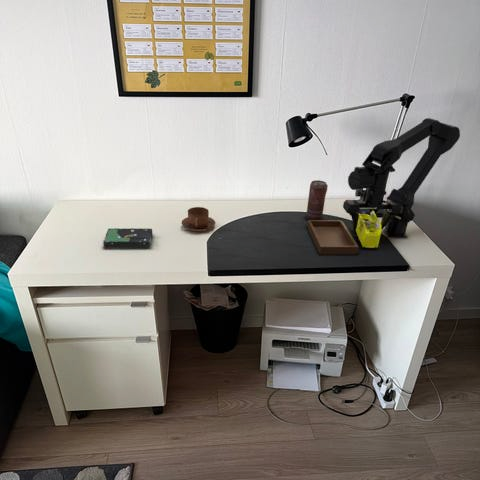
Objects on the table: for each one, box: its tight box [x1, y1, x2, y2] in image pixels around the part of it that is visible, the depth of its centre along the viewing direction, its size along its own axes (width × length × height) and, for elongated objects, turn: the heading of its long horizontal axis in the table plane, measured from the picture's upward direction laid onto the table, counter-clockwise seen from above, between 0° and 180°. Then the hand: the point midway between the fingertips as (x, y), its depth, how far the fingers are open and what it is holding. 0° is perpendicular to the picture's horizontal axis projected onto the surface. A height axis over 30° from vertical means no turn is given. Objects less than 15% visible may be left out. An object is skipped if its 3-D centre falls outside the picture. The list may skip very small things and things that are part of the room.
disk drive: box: [103, 227, 154, 249], centre depth 145 cm, size 10×3×15 cm
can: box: [305, 179, 328, 221], centre depth 163 cm, size 6×6×14 cm
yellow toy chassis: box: [355, 210, 382, 249], centre depth 151 cm, size 16×6×8 cm, turn 178°
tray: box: [306, 219, 360, 256], centre depth 152 cm, size 13×22×3 cm, turn 4°
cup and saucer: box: [181, 206, 216, 232], centre depth 156 cm, size 12×12×6 cm
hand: (367, 230), depth 152 cm, fingers open, 9 cm apart
